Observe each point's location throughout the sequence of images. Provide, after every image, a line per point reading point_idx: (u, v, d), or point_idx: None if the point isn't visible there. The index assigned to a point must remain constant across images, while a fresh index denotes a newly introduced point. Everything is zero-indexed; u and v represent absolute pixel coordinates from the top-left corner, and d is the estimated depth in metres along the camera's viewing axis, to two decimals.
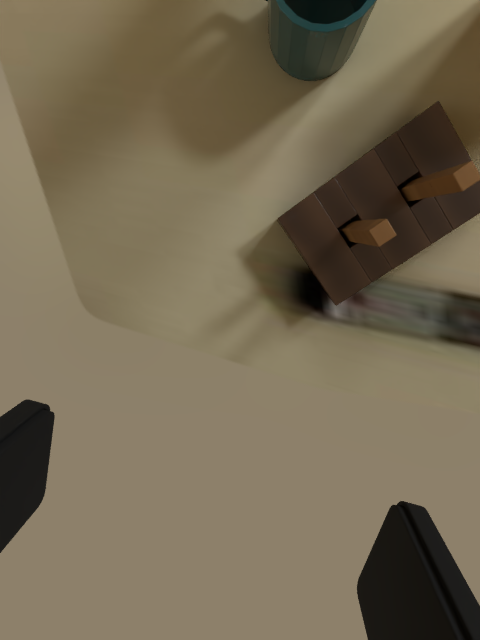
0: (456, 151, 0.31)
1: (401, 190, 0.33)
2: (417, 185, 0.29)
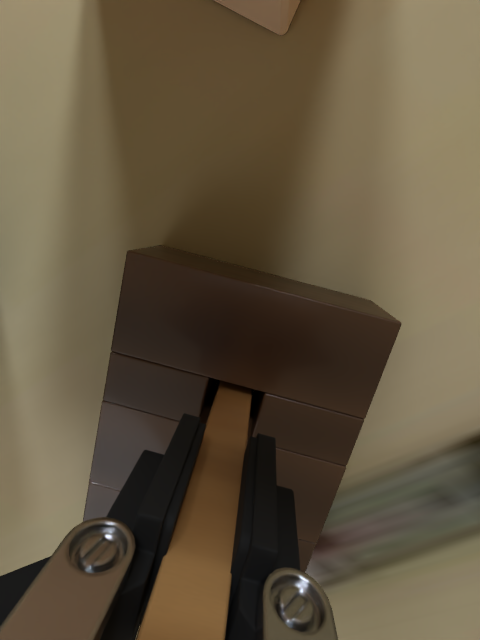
0: (240, 300, 0.13)
1: None
2: None
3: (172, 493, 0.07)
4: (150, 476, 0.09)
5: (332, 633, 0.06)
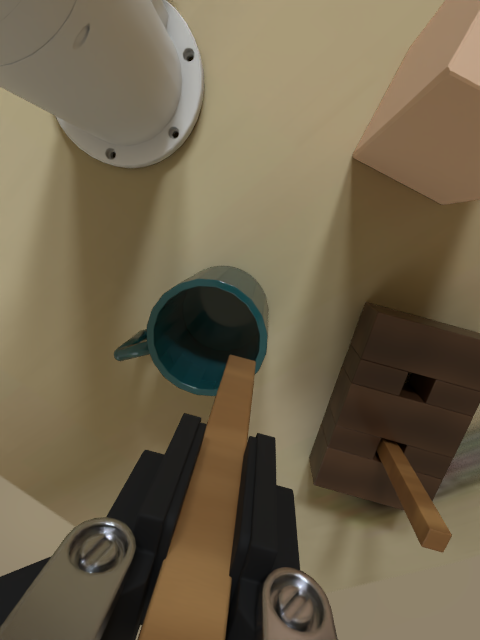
0: (430, 335, 0.28)
1: None
2: None
3: (172, 493, 0.07)
4: (150, 476, 0.09)
5: (332, 633, 0.06)
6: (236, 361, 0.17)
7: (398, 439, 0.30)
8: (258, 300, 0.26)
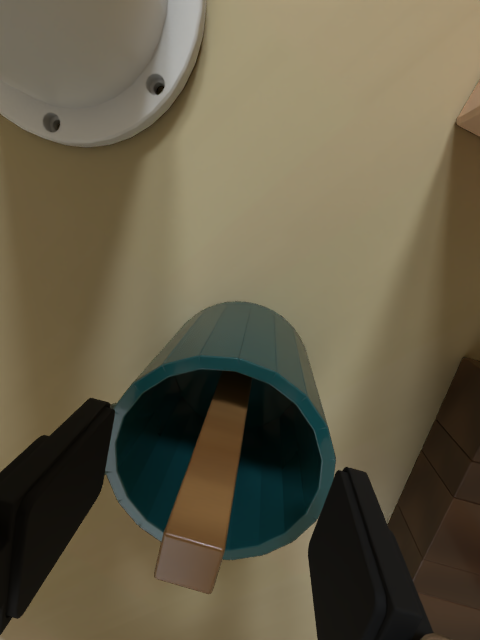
0: None
1: None
2: None
3: (39, 476, 0.07)
4: None
5: None
6: None
7: None
8: (309, 379, 0.14)
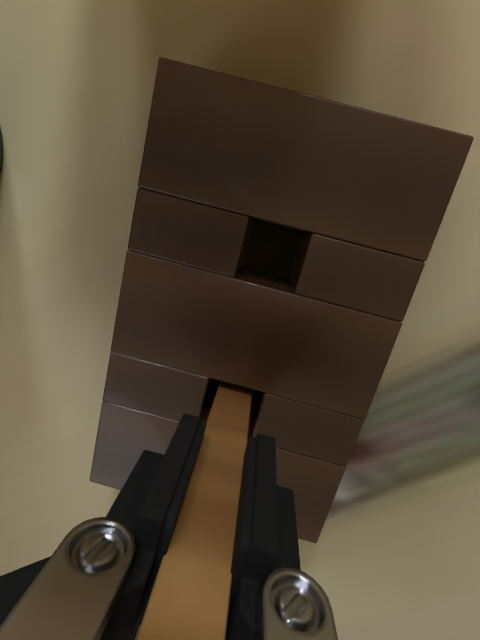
0: (288, 115, 0.11)
1: None
2: None
3: (172, 493, 0.07)
4: (150, 476, 0.09)
5: (332, 633, 0.06)
6: None
7: (244, 380, 0.14)
8: None
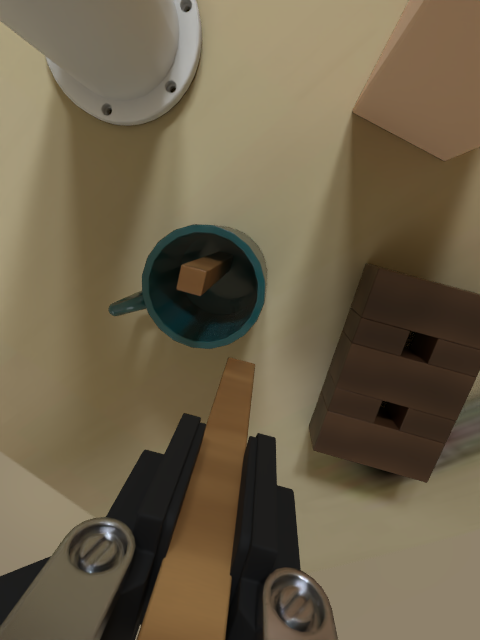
0: (432, 292, 0.27)
1: None
2: None
3: (172, 493, 0.07)
4: (150, 476, 0.09)
5: (332, 633, 0.06)
6: (221, 253, 0.31)
7: (399, 401, 0.29)
8: (256, 252, 0.25)
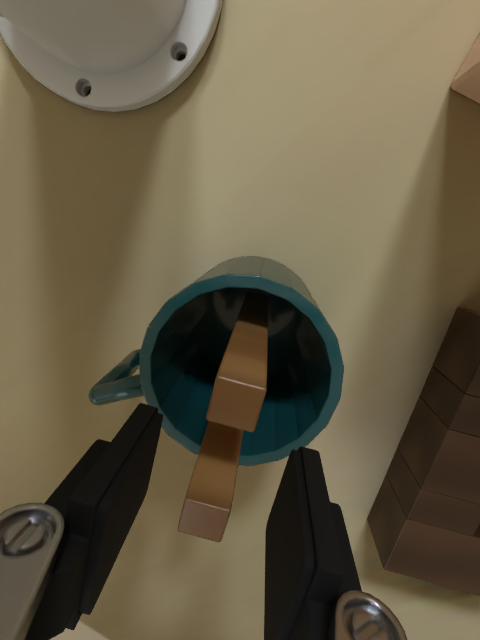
0: None
1: None
2: None
3: (111, 480, 0.07)
4: None
5: None
6: (253, 295, 0.21)
7: None
8: None
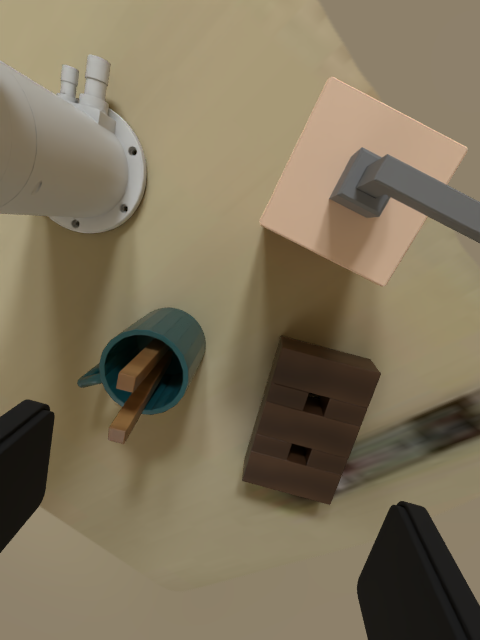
0: (322, 365, 0.36)
1: None
2: None
3: None
4: None
5: None
6: None
7: (305, 444, 0.38)
8: (185, 341, 0.34)
